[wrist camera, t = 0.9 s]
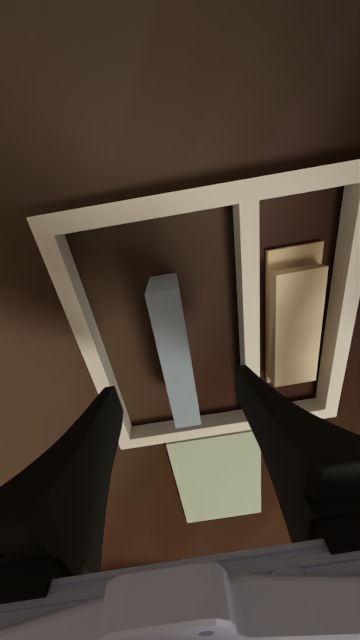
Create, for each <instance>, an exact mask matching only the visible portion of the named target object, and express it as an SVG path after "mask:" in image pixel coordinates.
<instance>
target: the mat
mask: <svg viewBox="0 0 360 640" xmlns="http://www.w3.org/2000/svg"><path fill="white" fill-rule="evenodd" d="M166 447H167V451H168V454H169V458H170V462H171V465H172V469H173V472H174V476H175V480H176V483H177V487H178V491H179V494H180V498H181V502H182V505H183V509H184V512H185V516H186V520H187V523H191V522H198V521H205V520H211V519H218V518H225V517H232V516H239V515H246V514H252V513H259V512H261V450H260V447H259V445H258V443H257V441H256V439H255V436H254V434H253V432H252V430H246V431H239V432H233V433H226V434H220V435H213V436H207V437H200V438H194V439H187V440H181V441H174V442H168V443H166Z"/></svg>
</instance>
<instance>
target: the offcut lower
mask: <svg viewBox="0 0 360 640" xmlns="http://www.w3.org/2000/svg"><path fill="white" fill-rule="evenodd" d="M323 246H324V241H317V242H311V243H306V244H300V245H294V246H288V247H283V248H277V249H271V250H266V326H265V380H266V382H267V383H268V382H271V381H270V379H269V272H272V271H277V270H283V269H288V268H294V267H299V266H305V265H310V264H316V263H319V264H322V256H323Z"/></svg>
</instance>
